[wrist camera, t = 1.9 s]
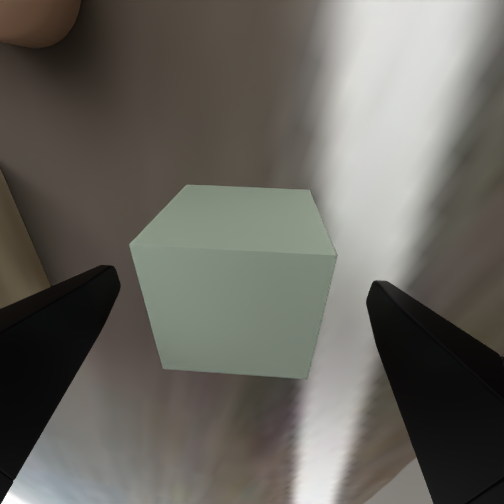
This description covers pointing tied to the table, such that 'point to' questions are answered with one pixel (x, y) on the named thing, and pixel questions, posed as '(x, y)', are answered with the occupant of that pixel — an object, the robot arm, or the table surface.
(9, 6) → the pink dome cap
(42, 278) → the oak block
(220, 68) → the table surface
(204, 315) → the sage cube
